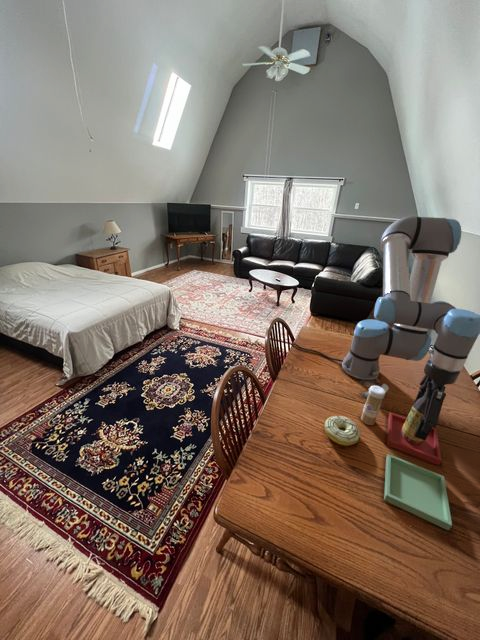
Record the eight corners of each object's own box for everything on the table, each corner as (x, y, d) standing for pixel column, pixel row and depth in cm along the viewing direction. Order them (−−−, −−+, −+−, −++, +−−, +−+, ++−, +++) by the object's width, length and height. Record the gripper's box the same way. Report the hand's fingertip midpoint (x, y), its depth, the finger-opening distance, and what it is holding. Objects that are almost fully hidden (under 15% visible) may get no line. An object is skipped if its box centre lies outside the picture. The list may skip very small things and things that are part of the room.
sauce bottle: (396, 432, 86) (416, 383, 78) (409, 427, 89) (430, 378, 80) (414, 449, 81) (438, 397, 73) (428, 442, 83) (452, 392, 75)
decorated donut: (363, 434, 86) (366, 425, 84) (350, 455, 79) (353, 446, 77) (332, 416, 92) (335, 408, 91) (318, 434, 85) (320, 426, 83)
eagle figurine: (369, 381, 110) (354, 383, 105) (383, 374, 104) (368, 375, 100) (378, 399, 106) (363, 402, 101) (393, 393, 101) (378, 395, 96)
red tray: (386, 445, 83) (388, 440, 82) (388, 416, 94) (389, 412, 93) (439, 465, 77) (441, 460, 76) (434, 432, 88) (436, 428, 87)
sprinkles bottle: (358, 420, 91) (368, 389, 85) (362, 413, 94) (372, 382, 89) (372, 428, 89) (383, 396, 83) (376, 420, 92) (387, 389, 86)
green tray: (383, 500, 67) (386, 495, 66) (386, 458, 78) (388, 453, 77) (448, 530, 62) (452, 525, 61) (441, 481, 73) (444, 476, 72)
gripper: (424, 341, 85) (404, 394, 94) (432, 385, 65) (405, 446, 74) (453, 348, 82) (429, 401, 91) (470, 396, 62) (437, 459, 71)
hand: (418, 422), depth 82 cm, fingers open, 13 cm apart
